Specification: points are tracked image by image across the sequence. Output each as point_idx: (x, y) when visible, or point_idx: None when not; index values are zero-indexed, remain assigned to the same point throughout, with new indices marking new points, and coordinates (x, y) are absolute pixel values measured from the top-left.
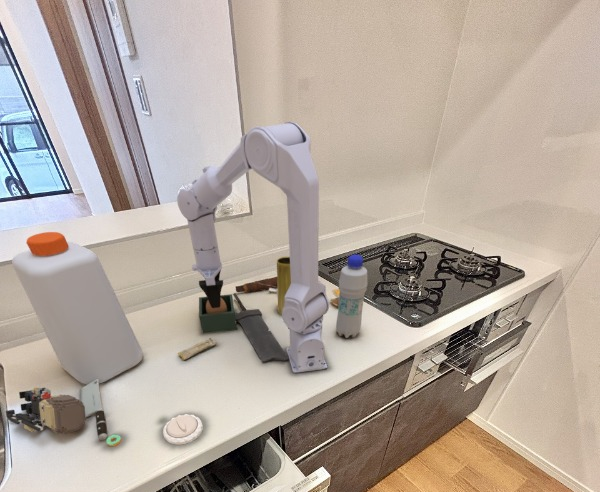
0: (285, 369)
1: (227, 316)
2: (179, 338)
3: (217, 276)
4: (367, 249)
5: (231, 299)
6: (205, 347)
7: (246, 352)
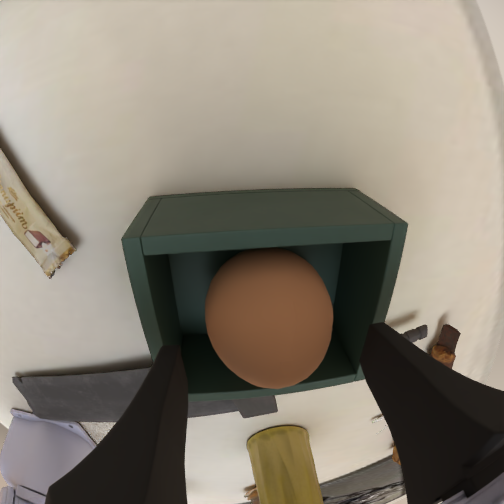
0: (15, 400)
1: None
2: (118, 80)
3: (403, 452)
4: None
5: (312, 386)
6: (14, 233)
7: (42, 350)
